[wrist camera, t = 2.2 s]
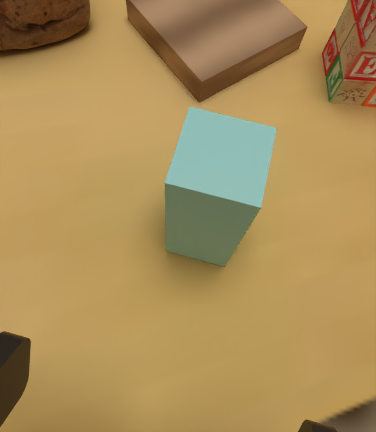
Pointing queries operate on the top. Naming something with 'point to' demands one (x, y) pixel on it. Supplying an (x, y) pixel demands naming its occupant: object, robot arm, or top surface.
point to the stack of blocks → (352, 55)
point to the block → (40, 21)
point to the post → (215, 184)
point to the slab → (216, 38)
